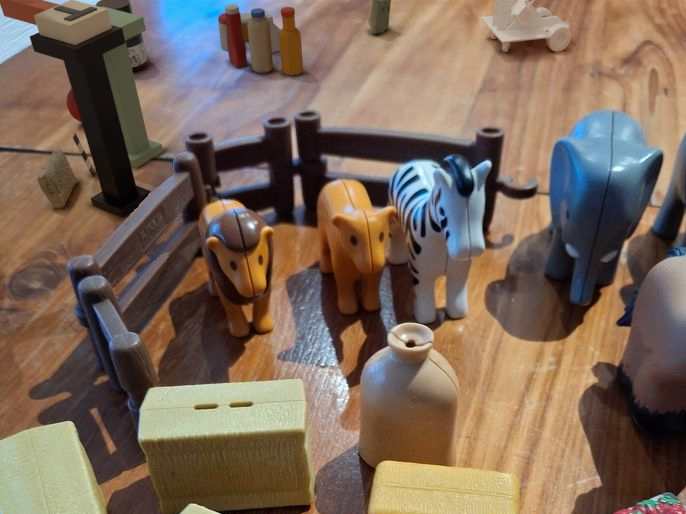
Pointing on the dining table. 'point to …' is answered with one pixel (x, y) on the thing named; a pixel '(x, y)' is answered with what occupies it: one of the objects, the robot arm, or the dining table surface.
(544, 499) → the dining table surface
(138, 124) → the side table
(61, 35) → the beige flat block
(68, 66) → the tall stand
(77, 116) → the onion
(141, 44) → the ink bottle
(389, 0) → the olive upright narrow post
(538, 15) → the catapult
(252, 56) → the toy food
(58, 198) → the cuneiform tablet
